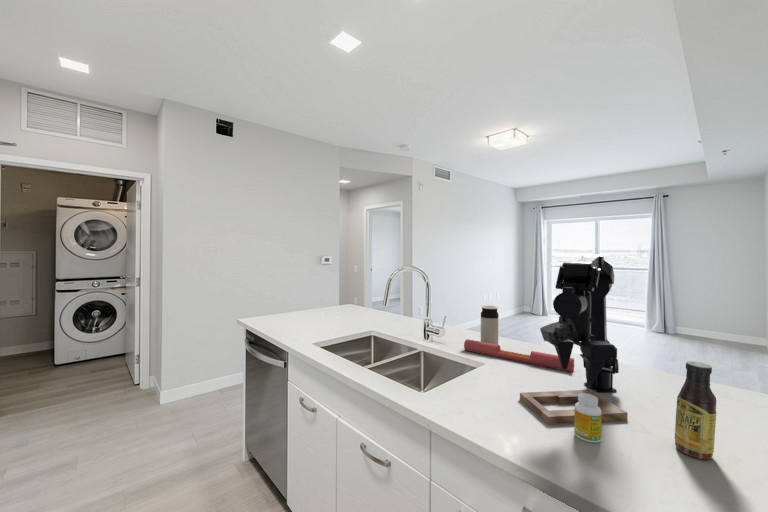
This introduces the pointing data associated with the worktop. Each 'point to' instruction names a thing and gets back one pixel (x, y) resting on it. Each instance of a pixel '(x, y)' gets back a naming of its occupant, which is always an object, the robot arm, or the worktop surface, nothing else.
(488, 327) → the travel mug
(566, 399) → the brown wooden frame
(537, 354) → the blood vessel
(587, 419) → the supplement bottle
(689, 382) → the sauce bottle
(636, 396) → the worktop surface
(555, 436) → the worktop surface
